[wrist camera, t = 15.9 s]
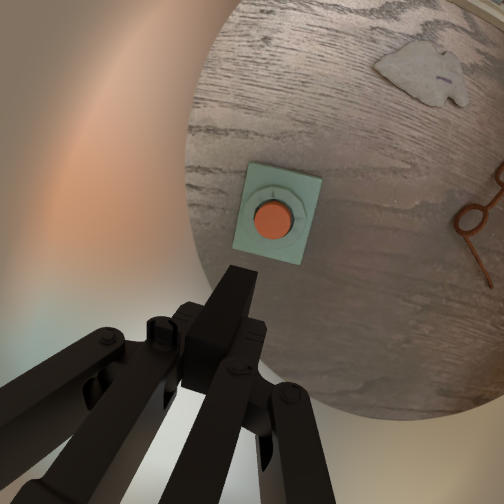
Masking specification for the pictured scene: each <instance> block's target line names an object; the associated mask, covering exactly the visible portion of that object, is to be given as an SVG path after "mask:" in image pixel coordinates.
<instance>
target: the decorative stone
mask: <svg viewBox="0 0 504 504" xmlns="http://www.w3.org/2000/svg"><path fill="white" fill-rule="evenodd" d="M373 67H374V68H375V69H376V70H378V71H379V72H380V73H381V74H382V75H383V76H385V77H387V78H388V79H389V80H390V81H391V82H392V83H393V84H395V85H397V86H398V87H399V88H401V89H403V90H405V91H406V92H407V93H408V94H410V95H411V96H412V97H414V98H418V99H419V100H420V101H421V102H423V103H425V104H427V105H430V106H432V107H433V106H437V107H443V105H444V104H445V101H446V99H447V98H448V97H451V98H452V99H453V100H454V101H455V102H456V104H457V105H459V106H461V107H467V106H468V105H469V99H468V93H467V87H466V85H465V82H464V79H463V70H462V67H461V65H460V61H459V59H458V57H457V56H456V55H454V54H453V53H452V52H450V51H446V52H445V54H444V55H441V54H439V53H438V51H437V50H436V48H435V47H434V45H433V44H432V43H431V42H430V41H428V40H427V41H421V42H415V41H414V42H411V43H409V44H406V45H405V46H404V47H402V48H401V49H400V50H399V51H397V52H395V53H394V54H387V55H385V56H383V57H382V58H381V60H380V61H379V62H376V63H375V64H374V66H373Z"/></svg>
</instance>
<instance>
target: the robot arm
mask: <svg viewBox="0 0 504 504" xmlns="http://www.w3.org/2000/svg"><path fill="white" fill-rule="evenodd" d="M257 275H258V272H256V271H252V270H249V269H245V268H241V267H237V266H233V265H230V266H229V268H228V269H227V271H226V273H225V274H224V276H223V277H222V279H221V280H220V282H219V283H218V285H217V287H216V288H215V290H214V291H213V293H212V294H211V296H210V297H209V299H208V301H207V302H206V304H205V306H203V305H200V304H196V303H193V302H190V301H189V302H186V303H185V304H183V305H181V306H180V307H179V308H178V310H177V311H176V313H175V314H174V315H173V316H172V318H170V317H165V316H157V317H153V318H151V319H149V320H148V321H147V339H146V340H145V341H144V342H136V341H129V340H125V337H124V335H123V333H122V332H121V331H120V330H118V329H116V328H111V327H103V328H99V329H97V330H95V331H93V332H92V333H90V334H88V335H87V336H85V337H83V338H81V339H80V340H78V341H77V342H75V343H73V344H71V345H70V346H68V347H67V348H65V349H63V350H61V351H60V352H58V353H57V354H55V355H53V356H52V357H50V358H48V359H47V360H45V361H43V362H42V363H40V364H39V365H37V366H35V367H33V368H32V369H30V370H28V371H27V372H25V373H24V374H22V375H20V376H19V377H17V378H16V379H14V380H12V381H10V382H9V383H7V384H6V385H4V386H2V387H1V388H0V491H1V490H2V489H4V488H5V487H6V486H8V485H9V484H10V483H12V482H13V481H14V480H16V479H17V478H18V477H20V476H21V475H22V474H24V473H25V472H26V471H27V470H29V469H30V468H31V467H33V466H34V465H35V464H37V463H38V462H39V461H40V460H42V459H43V458H44V457H46V456H47V455H48V454H49V453H51V452H52V451H53V450H54V449H56V448H57V447H58V446H59V445H61V444H62V443H63V442H65V441H66V440H67V439H68V438H70V437H71V436H72V435H73V434H74V435H73V436H72V437H71V439H70V440H69V441H68V443H67V444H66V446H65V447H64V449H63V450H62V451H61V452H60V454H59V456H58V457H57V458H56V459H55V461H54V462H53V464H52V465H51V466H50V468H49V469H48V471H47V472H46V473H45V475H44V476H43V477H42V478H40V479H31V480H29V481H28V482H26V483H25V484H24V485H23V486H22V487H21V489H20V490H19V492H18V493H17V495H16V496H15V497H14V499H13V500H12V502H11V503H10V504H120V502H121V500H122V498H123V496H124V494H125V492H126V490H127V489H128V487H129V485H130V483H131V481H132V479H133V477H134V475H135V473H136V472H137V470H138V468H139V466H140V464H141V462H142V460H143V458H144V456H145V454H146V452H147V451H148V448H149V447H150V445H151V443H152V441H153V439H154V437H155V435H156V433H157V431H158V430H159V428H160V426H161V424H162V422H163V420H164V418H165V416H166V414H167V412H168V410H169V409H170V407H171V405H172V403H173V401H174V399H175V397H176V394H177V386H178V384H179V382H180V381H181V387H183V388H186V389H189V390H192V391H195V392H199V393H202V394H205V395H206V396H205V399H204V401H203V403H202V406H201V408H200V410H199V413H198V415H197V417H196V420H195V422H194V424H193V427H192V429H191V431H190V433H189V435H188V438H187V440H186V443H185V445H184V447H183V449H182V451H181V454H180V456H179V458H178V460H177V463H176V465H175V467H174V470H173V472H172V474H171V476H170V479H169V481H168V483H167V485H166V488H165V490H164V492H163V494H162V496H161V499H160V501H159V503H158V504H218V503H219V500H220V497H221V494H222V490H223V487H224V484H225V481H226V477H227V474H228V471H229V467H230V464H231V461H232V457H233V454H234V450H235V447H236V443H237V440H238V437H239V433H240V430H241V426H242V427H244V428H246V429H247V430H249V431H251V432H253V433H254V434H256V435H255V439H256V451H257V463H258V476H259V487H260V499H261V504H336V501H335V497H334V493H333V489H332V485H331V481H330V477H329V472H328V468H327V464H326V461H325V456H324V453H323V448H322V444H321V440H320V437H319V432H318V429H317V425H316V421H315V417H314V413H313V409H312V405H311V401H310V397H309V395H308V393H307V391H306V390H305V389H304V388H303V387H302V386H300V385H298V384H296V383H292V382H281V383H279V384H276V385H274V384H272V383H270V382H268V381H267V380H265V379H264V378H263V377H262V376H261V375H260V373H259V371H258V363H259V359H260V355H261V351H262V347H263V343H264V339H265V335H266V331H267V328H266V325H265V322H264V321H260V320H257V319H253V318H249V317H248V314H249V309H250V305H251V301H252V296H253V292H254V288H255V283H256V279H257Z"/></svg>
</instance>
